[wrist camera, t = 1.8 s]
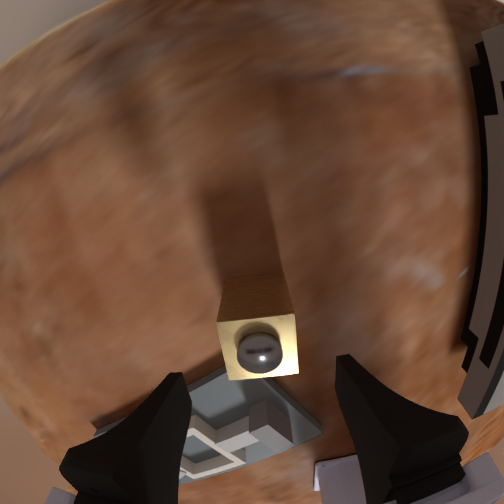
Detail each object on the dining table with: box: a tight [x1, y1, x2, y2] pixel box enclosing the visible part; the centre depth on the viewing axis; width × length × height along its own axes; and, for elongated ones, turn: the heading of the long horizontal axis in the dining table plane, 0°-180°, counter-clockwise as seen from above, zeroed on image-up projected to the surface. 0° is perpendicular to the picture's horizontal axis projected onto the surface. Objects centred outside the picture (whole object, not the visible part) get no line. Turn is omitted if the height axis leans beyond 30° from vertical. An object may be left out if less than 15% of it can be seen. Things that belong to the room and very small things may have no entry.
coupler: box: [216, 272, 298, 380], centre depth 18 cm, size 4×4×7 cm
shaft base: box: [93, 365, 323, 487], centre depth 24 cm, size 22×12×4 cm, turn 127°
